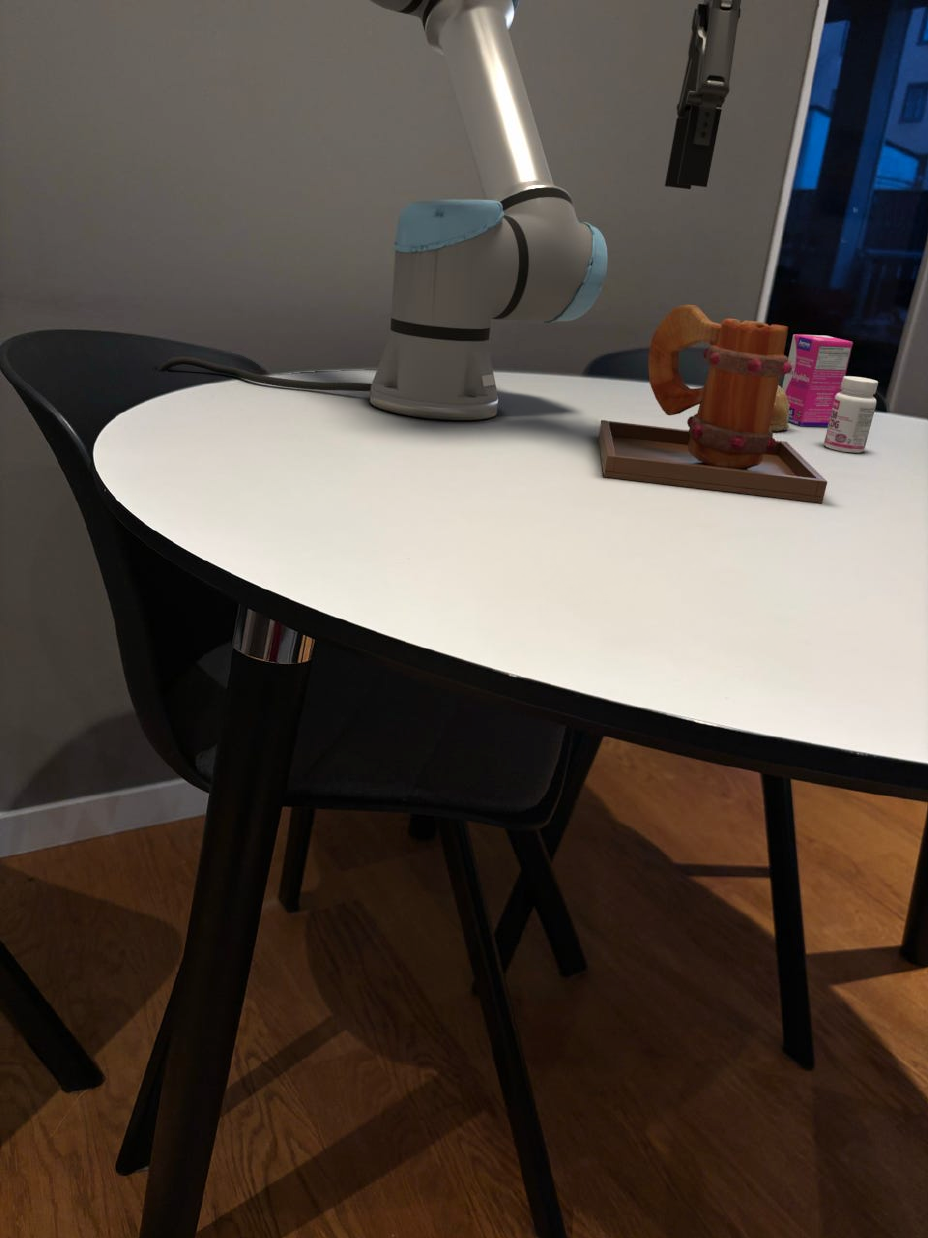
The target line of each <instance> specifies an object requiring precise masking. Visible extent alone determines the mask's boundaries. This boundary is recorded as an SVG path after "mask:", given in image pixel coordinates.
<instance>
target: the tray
mask: <svg viewBox="0 0 928 1238" xmlns="http://www.w3.org/2000/svg"><path fill="white" fill-rule="evenodd" d="M689 440H690V435H689V429H681V428H671V427H665V426H664V427H663V426H655V425H647V424H638V423H630V422H621V421H611V420H604V419H601V420H600V426H599V433H598V444H599V451H600V457H601V458H600V459H601V465H602V466H601V467H602V473H603V477H604V478H609V479H610V478H611V479H619V480H626V481H635V482H641V483H642V482H643V483H650V484H651V483H652V484H658V485H659V484H660V485H668V486H677V487H684V488H685V487H686V488H693V489H702V490H708V491H709V490H710V491H717V492H718V491H719V492H727V493H734V494H735V493H736V494H743V495H751V496H758V497H759V496H761V497H767V498H776V499H783V500H793V501H799V502H800V501H801V502H808V503H819V504H823V502H824V497H825V494H826V491H827V486H828V481H827V479H826V478H824V476H823V475H821V474H820V472H818V471H817V470H816V469H815V468H814V467H813V466H812V465H811V464H810V463H809V462H808V461H807V460H806V459H805V458H804V457H803V456H802V455H801V454H800V453H799V452H798V451H797V450H796V449H795V448H794V447H792V445H791V444H789V442H787V441H782V440H776V439H775V441H776V443H777V444H776V446H775V448H774V449H772V450H770V451H767V452H765V453H764V455H763V459H762V461H761V463H760V464H759V465H758V466H754V467H751V468H748V469H743V470H740V469H731V468H723V467H715V466H710V465H707V464H705V463H702V462H701V461H699V460H698V459H696V458H695V457H694V456H693V455H692V454H691V453H690V452H689V449H688V443H689Z"/></svg>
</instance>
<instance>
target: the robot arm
mask: <svg viewBox="0 0 928 1238" xmlns="http://www.w3.org/2000/svg"><path fill="white" fill-rule="evenodd" d="M369 1H370V2H372V3H374V4H375V5H377V6H379V7H380V8H382V9H385V10H389V11H393V12H396V13H400V14H403V15H407V16H408V15H409V16H412V17H417V18H419V19H420V21H421V24H422V27H423V31H424V34H425V37H426V41H427V43H428V45H429V46H430V48H431V49H432V50H433V51H434V52H436V53H437V54H439V55H441V56H443V57H444V61H445V65H446V69H447V72H448V75H449V79H450V82H451V86H452V89H453V94H454V96H455V100H456V104H457V107H458V111H459V114H460V117H461V122H462V125H463V128H464V131H465V135H466V138H467V142H468V146H469V151H470V153H471V156H472V160H473V163H474V167H475V170H476V174H477V178H478V181H479V186H480V188H481V192H482V196H483V199H431V200H419V201H414V202H410V203H408V204H406V205H405V206H403V208H402V209H401V211H400V212H399V216H398V220H397V227H396V233H395V240H394V243H393V247H394V250H395V252H394V267H393V283H392V297H391V310H390V311H391V312H390V314H391V315H390V316H391V317H390V327H389V336H388V337H389V338H388V340H387V344H386V346H385V349H384V351H383V354H382V356H381V359H380V361H379V364H378V366H377V369H376V372H375V374H374V378H373V380H372V383H370V382H369V383H368V382H341V381H340V382H336V381H335V382H331V381H330V382H329V381H327V382H324V381H323V382H322V381H308V380H299V379H289V378H281V377H274V376H268V375H263V374H257V373H253V372H250V371H247V370H244V369H241V368H238V367H233V366H228V365H222V364H217V363H214V362H210V361H208V360H204V359H200V358H196V357H192V356H175V357H172V358H169V359H167V360H168V361H167V360H166V361H167V363H166V362H165V361H164V362H162V363H161V364H160V365H159V366H158V367H157V369H156V371H160V372H166V371H167V370H170V369H171V368H172V367H176V366H181V365H186V366H193V367H198V368H201V369H203V370H204V369H205V370H207V371H208V370H209V371H211V372H214V373H220V374H223V375H231V376H234V377H238V378H241V379H243V380H246V381H250V382H255V383H257V384H258V383H259V384H264V385H269V386H276V387H283V388H291V389H301V390H314V391H346V392H347V391H350V392H352V391H353V392H370V395H369V397H370V398H369V402H370V404H372V405H373V406H374V407H376V408H378V409H381V410H383V411H387V412H390V413H395V414H399V415H404V416H409V417H416V418H424V419H433V420H445V421H447V420H448V421H475V420H484V419H485V420H486V419H489V418H492V417H494V416H496V415H497V414H498V405H499V397H498V390H497V385H496V379H495V374H494V370H493V369H494V368H493V364H492V359H491V354H490V348H489V347H490V345H489V344H490V333H491V325H492V320H499V321H500V320H501V321H502V320H505V321H527V322H543V323H545V324H553V323H556V322H571V321H575V320H578V319H579V318H581V317H582V316H583V315H585V314H586V313H587V312H588V311H589V310H590V309H591V308H592V307H593V305H594V304H595V303H596V301H597V300H598V298H599V295H600V293H601V292H602V288H603V284H604V281H605V279H606V276H607V271H608V247H607V243H606V239H605V237H604V235H603V233H602V231H600V230H599V229H598V228H597V227H595V226H594V225H592V224H590V223H589V222H587V221H584V222H580V221H579V220H578V218H577V214H576V211H575V207H574V204H573V200H572V198H571V195H570V194H569V192H568V191H567V190H566V189H564V188H563V187H561V186H558V185H555V184H554V181H553V178H552V175H551V172H550V171H551V170H550V168H549V164H548V161H547V158H546V154H545V151H544V148H543V144H542V141H541V137H540V134H539V130H538V127H537V123H536V121H535V117H534V113H533V110H532V106H531V103H530V101H529V97H528V93H527V89H526V87H525V82H524V79H523V76H522V72H521V69H520V66H519V62H518V60H517V56H516V53H515V49H514V45H513V42H512V39H511V35H510V32H509V29H510V27H511V26H512V23H513V21H514V16H515V14H516V12H517V10H518V7H519V4H520V1H521V0H369ZM741 3H742V0H703V2H702V3H697V6H696V8H695V9H694V11H693V15H692V19H691V35H690V39H689V43H688V44H689V45H688V51H687V52H688V54H687V55H688V57H687V60H686V61H687V62H686V67H685V71H684V76H683V80H682V85H681V91H680V94H679V99H678V103H677V104H676V115H677V118H676V121H675V127H674V132H673V138H672V144H671V149H670V154H669V160H668V166H667V171H666V176H665V182H664V187H667V188H668V187H669V188H676V189H685V190H691V189H692V187H693V186H694V187H701V188H707V187H708V183H709V177H710V172H711V167H712V161H713V156H714V152H715V147H716V143H717V142H716V141H717V136H718V132H719V126H720V121H721V115H722V111H723V109H722V107H723V104H725V101H726V98H727V97H728V95H729V94H730V89H731V88H730V81H731V74H732V66H733V60H734V59H733V58H734V51H735V44H736V37H737V31H738V30H737V29H738V25H739V21H740V18H741V12H742V9H741V5H742V4H741Z"/></svg>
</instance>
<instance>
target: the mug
mask: <svg viewBox="0 0 928 1238" xmlns="http://www.w3.org/2000/svg"><path fill="white" fill-rule="evenodd" d="M788 330H789V326H786V325H781V324H770V325H769V324H768V323H765V322H760V321H754V320H746V319H745V320H743V322H741V320H740V319H735V318H725V319H724V318H723V320H722V322H721V323H718V322H715V321H714V322H713V320H711V319H710V318H709V317H707V315H706V314H705V313H704V312H703V310H702V309H701V308H700V307H699V306H697V305H695V304H688V303H687V304H680V305H678V306H675V307H674V308H673V309H672V310H671V311H670V312H669V313H668V314H666V316H665V317H664V318H663V319H662V321H661V322H660V324H659V325H658V326H657V328H656V330H655V332H654V333H653V335H652V338H651V342H650V345H649V352H648V353H649V354H648V376H649V377H648V378H649V385H650V388H651V390H652V393H653V396H654V398H655V400H656V402H657V403H658V405H659V407H660V408H661V411H663V412H664V413H665V415H667V416H675V415H679V414H682V413H683V412H686V411H687V410H689V409H691V408H694V407H695V406H698V409H697V412H696V413H695V414H693V415H692V416H689V417H688V418H687V421H686V423H687V427H688V430H689V435H690V440H689V443H688V449H689V452H690V453H691V454H692V455H693V456H694V457H695V458H696V459H698V460H699V461H701V462H702V463H705V464H707V465H710V466H715V467H723V468H731V469H740V470H743V469H748V468H751V467H754V466H758V465H759V464H760V463H761V461H762V459H763V455H764V453H765V452H767V451H770V450H772V449H774V448H775V446H776V444H777V443H776V441H777V440H776V439H775V438H774V433H773V431H771V430H770V429H769V427H770V422H771V418H772V413H773V408H774V403H775V399H776V394H777V390H778V385H779V384H780V378H782V377H785V374H787V373H790V371H791V370H792V367H791V365H790V364H789V363H788V358H789V357H788V356H786V355H785V348H786V343H787V338H788V337H787V336H788ZM701 342H704V343H708V344H710V346H709V347H708V348H705V350H704V351H703V352H702V356H703V358H704V359H705V363H706V365H707V366H708V367H709V370H708V373H707V378H706V380H705V385H704V386H702V387H696V388H691V387H690V386H688V385H687V384H686V383H685V382H684V381H683V378H682V375H681V373H680V369H679V367H680V366H679V364H680V363H679V362H680V352H681V351H682V350H685V349H687V348H690V347H691V346H694V345H696V344H698V343H701ZM775 440H776V441H775Z"/></svg>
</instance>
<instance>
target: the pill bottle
mask: <svg viewBox="0 0 928 1238" xmlns="http://www.w3.org/2000/svg"><path fill="white" fill-rule="evenodd" d="M878 385H879V382H878V380H875V379H872V378H867V377H862V376H852V375H845V376H844V377H843V380H842V383H841V389H842V391H841V392H839V393H837V394H836V396H835V399H834V403H833V408H832V412H831V416H830V420H829V424H828V427H827V429H826V433H825V437H824V442H823V445H824V446H825V447H826V448H827V449H831V450H833V451H838V452H843V453H851V454H852V453H854V454H861V453H863V452H864V451H865V450H866V449H865V448H866V446H867V441H868V438H869V434H870V429H871V426H872V422H873V418H874V415H875V410H876V407H877V399H876V398H875V397H874V395H875V394H876V392H877V388H878Z"/></svg>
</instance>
